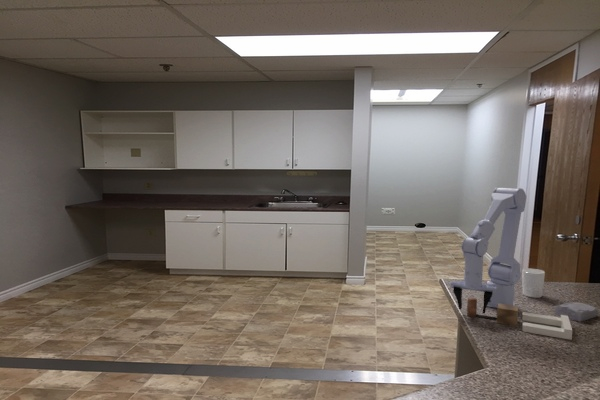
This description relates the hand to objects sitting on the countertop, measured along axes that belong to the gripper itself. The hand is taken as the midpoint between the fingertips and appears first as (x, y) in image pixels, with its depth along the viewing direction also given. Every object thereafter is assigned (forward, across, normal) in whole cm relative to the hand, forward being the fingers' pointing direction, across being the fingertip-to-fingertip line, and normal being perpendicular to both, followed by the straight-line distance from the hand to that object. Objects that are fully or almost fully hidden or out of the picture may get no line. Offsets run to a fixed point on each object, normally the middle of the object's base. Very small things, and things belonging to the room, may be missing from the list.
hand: (472, 310), depth 140 cm
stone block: (+2, +32, +18) cm, 36 cm away
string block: (+2, +6, 0) cm, 6 cm away
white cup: (+2, +19, +35) cm, 40 cm away
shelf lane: (+2, +21, 0) cm, 21 cm away
